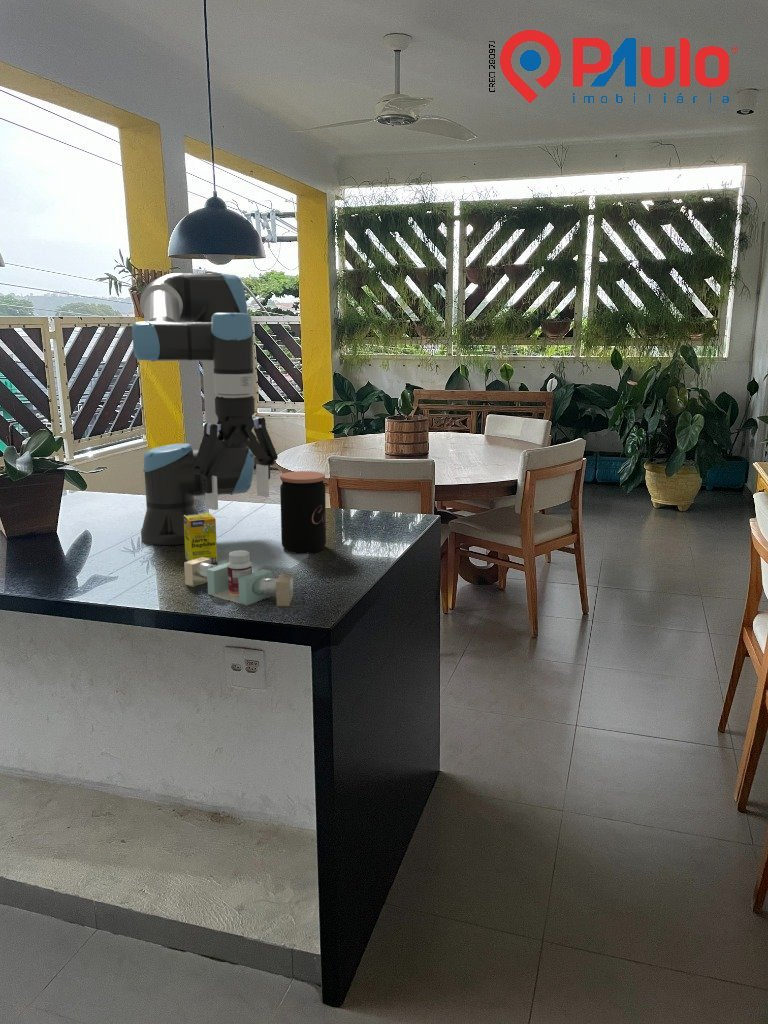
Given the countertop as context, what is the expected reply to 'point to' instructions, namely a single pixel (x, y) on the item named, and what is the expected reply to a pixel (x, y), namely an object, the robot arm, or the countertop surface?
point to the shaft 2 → (276, 588)
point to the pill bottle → (238, 569)
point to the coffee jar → (303, 511)
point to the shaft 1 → (197, 571)
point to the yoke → (220, 588)
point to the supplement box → (200, 537)
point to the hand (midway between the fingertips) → (238, 502)
